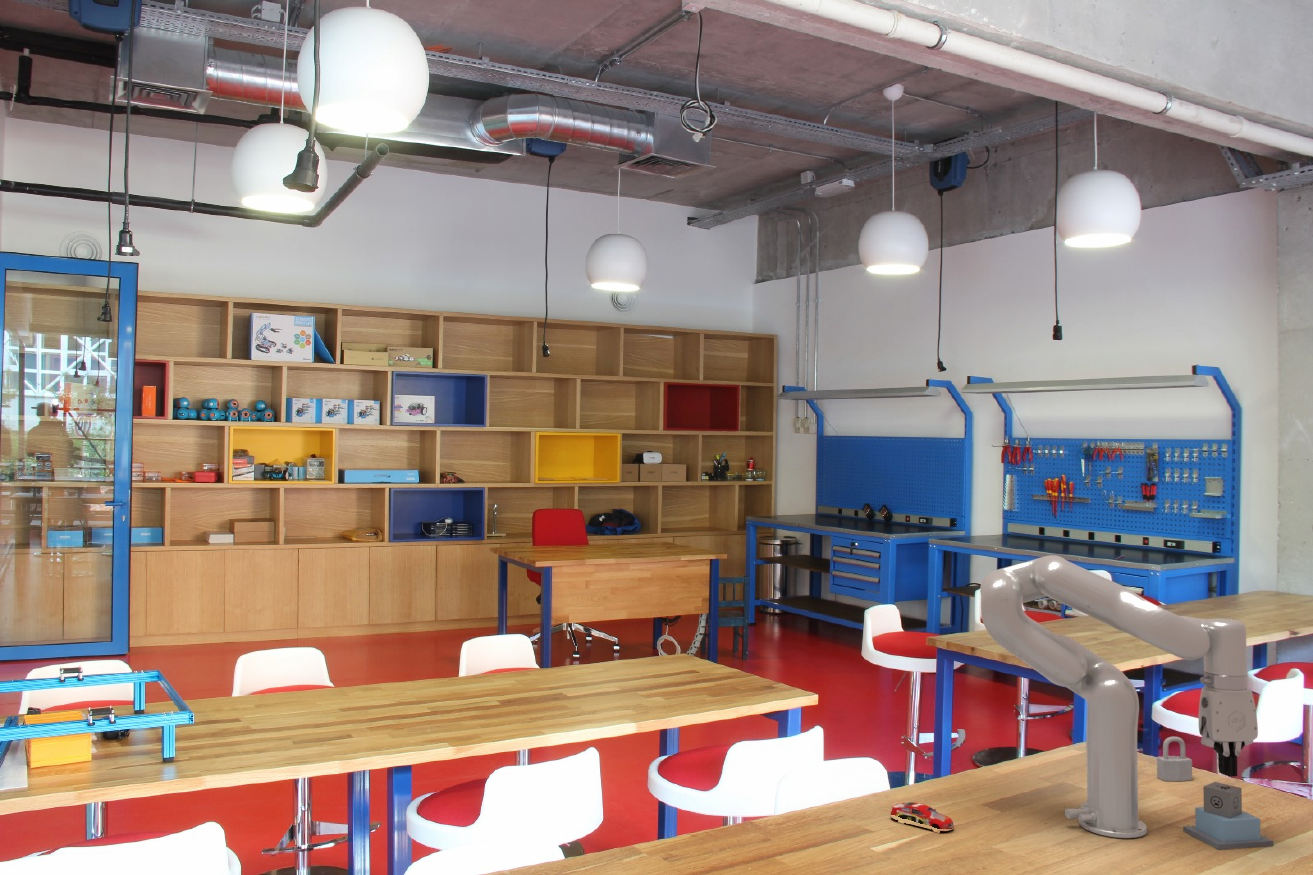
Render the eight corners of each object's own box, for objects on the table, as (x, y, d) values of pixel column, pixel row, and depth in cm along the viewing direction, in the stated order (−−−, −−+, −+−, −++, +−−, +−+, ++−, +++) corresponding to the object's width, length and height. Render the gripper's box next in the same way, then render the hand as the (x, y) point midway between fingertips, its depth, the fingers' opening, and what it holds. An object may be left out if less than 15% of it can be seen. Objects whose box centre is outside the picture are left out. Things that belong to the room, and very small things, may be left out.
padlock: (1165, 782, 236) (1164, 739, 236) (1155, 777, 240) (1154, 734, 240) (1194, 781, 237) (1193, 738, 237) (1183, 776, 241) (1183, 734, 241)
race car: (958, 830, 206) (958, 810, 206) (946, 837, 202) (946, 817, 202) (900, 814, 215) (900, 795, 215) (887, 821, 211) (887, 801, 211)
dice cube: (1230, 818, 197) (1229, 793, 198) (1203, 811, 201) (1203, 786, 202) (1241, 813, 200) (1241, 788, 201) (1215, 806, 204) (1215, 781, 205)
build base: (1218, 849, 195) (1218, 823, 195) (1183, 831, 204) (1182, 806, 205) (1273, 846, 197) (1273, 820, 197) (1236, 827, 206) (1235, 803, 207)
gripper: (1205, 687, 196) (1207, 782, 196) (1273, 684, 199) (1275, 778, 198) (1179, 679, 204) (1181, 771, 203) (1245, 676, 206) (1247, 767, 206)
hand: (1228, 774), depth 201 cm, fingers closed
